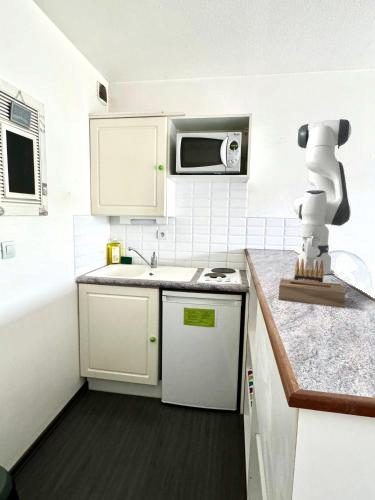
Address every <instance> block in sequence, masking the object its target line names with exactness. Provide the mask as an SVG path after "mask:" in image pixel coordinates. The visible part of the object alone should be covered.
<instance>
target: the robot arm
mask: <svg viewBox="0 0 375 500" xmlns="http://www.w3.org/2000/svg"><path fill="white" fill-rule="evenodd" d="M351 134H352V126H351V123H350V121H349V120H348V119H342V118H341V119H329V120H323V121H318V122H317V121H316V122H312V123H306V124H303V125H301V126H299V128H298V131H297V134H296V141H297V142H296V143H297V145H298V147H300V148H301V149H305V158H304V159H305V160H304V161H305V166H306V167H307V169H308V183H309V185H311V186H312V187H314V188H315V189H312V190H307V191H305V192H304V194H303V195H302V196H301V195H300V196H299V197H297V198H296V199H295V200H294V202H293V210H294V212H295V214H296V215H298V218H299V219H300V225H299V237H300V238H301V237H302V241H303V244H302V249H301V250H302V252H300V254H299V255H298V257H297V258H298V259H299V272H300V265H301V260H302V258H303V260H304V270H305V264H306V260H307V270H312V267H314V269H315V263H316V260H318V270H319V269H320V263H321V261H322V260H323V270H324V273H323V276H324V275H331V274H335V271H334V270H333V269H332V257H331V255H330V254H329V249H330V248H329V247H330V246H329V234H330V230H329V228H328V227H327V225H331V226H337V227H339V226H340V227H341V226H343V225H345V224H346V223H348V222H349V221H350V218H351V214H352V211H351V206H350V203H349V198H348V190H347V189H348V188H347V183H346V182H347V181H346V174H345V170H344V165H343V163H342V162H341V161H339V160H338V159H337V158H336V155H335V149H336V146H337V149H340V147H341V146H343V145H345V144H346V143H347V142H348V141H349V138H350V137H351ZM313 263H314V266H313ZM293 271H295V267H294V268H293ZM318 276H319V273H318Z"/></svg>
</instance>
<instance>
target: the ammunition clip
mask: <svg viewBox="0 0 375 500" xmlns="http://www.w3.org/2000/svg"><path fill="white" fill-rule="evenodd" d="M313 266H314V263H313ZM294 268H295V270H294V277H293V280H303V281H314V282H324V275H323V273H324V270H323V260H322V261H321V263H320V269H319V270H318V260H316V263H315V269H314V267H312V270H307V260H306V264H305V270H304V260H303V258H302V260H301V265H300V271H299V259H298V257H297V258H296V261H295V267H294ZM318 273H319V275H318Z"/></svg>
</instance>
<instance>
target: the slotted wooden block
mask: <svg viewBox="0 0 375 500" xmlns="http://www.w3.org/2000/svg"><path fill="white" fill-rule="evenodd" d="M278 286H279V287H278V300H279V301H286V302H287V301H288V302H295V303H296V302H297V303H304V304H313V305H320V306H321V305H322V306H328V307H330V306H331V307H337V308H338V307H339V308H344V307H345V302H346V301H345V300H346V291H345V290H344V287H343V286H342V284H341V283H333V282H324V281H323V282H314V281H304V279H303V280H294V279H292V278H291V279H290V278H280V281H279V285H278Z"/></svg>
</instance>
